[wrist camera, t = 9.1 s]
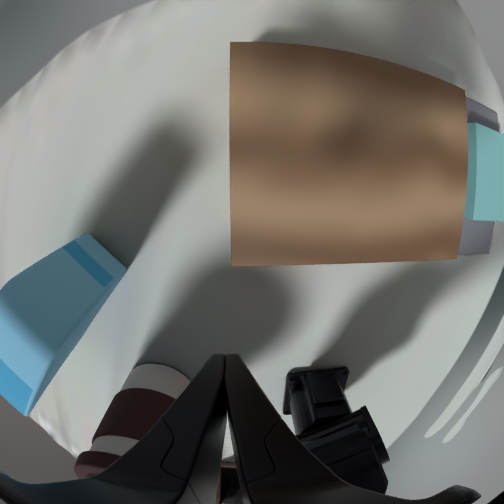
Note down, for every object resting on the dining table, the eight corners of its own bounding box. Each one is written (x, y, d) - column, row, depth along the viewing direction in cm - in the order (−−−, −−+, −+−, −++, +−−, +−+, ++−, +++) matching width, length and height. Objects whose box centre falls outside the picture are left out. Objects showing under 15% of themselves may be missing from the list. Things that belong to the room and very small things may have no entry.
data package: (94, 227, 20) (-7, 288, 8) (132, 263, 21) (55, 353, 10) (48, 313, 22) (-17, 383, 11) (79, 341, 23) (24, 422, 12)
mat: (486, 252, 22) (488, 253, 22) (428, 254, 22) (430, 255, 22) (495, 113, 17) (497, 113, 17) (435, 86, 17) (437, 85, 17)
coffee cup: (123, 403, 26) (88, 507, 12) (113, 341, 23) (48, 465, 9) (205, 420, 27) (197, 534, 13) (212, 360, 24) (200, 510, 10)
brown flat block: (430, 244, 22) (456, 259, 18) (232, 247, 21) (231, 266, 17) (436, 95, 17) (464, 90, 14) (231, 63, 17) (230, 42, 13)
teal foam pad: (472, 220, 19) (459, 215, 21) (503, 221, 19) (491, 217, 21) (475, 122, 16) (461, 123, 18) (507, 136, 16) (494, 135, 18)
